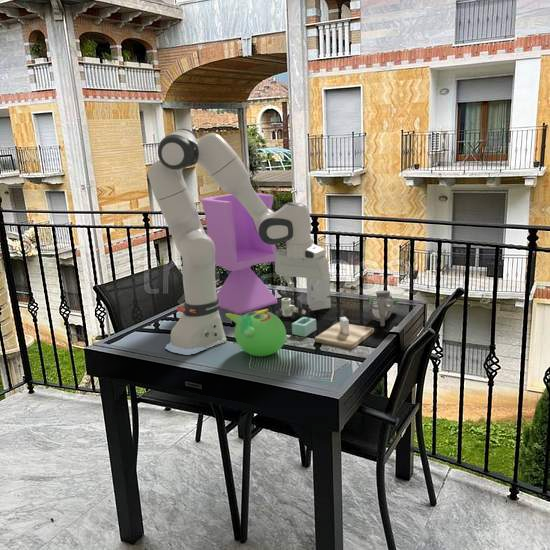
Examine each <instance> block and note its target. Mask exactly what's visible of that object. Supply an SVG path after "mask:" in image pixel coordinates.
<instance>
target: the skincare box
mask: <svg viewBox="0 0 550 550" xmlns="http://www.w3.org/2000/svg"><path fill="white" fill-rule="evenodd" d="M305 279H306V301H307V304H308V305H309V307H308V308H309V309H311V311H318V310H319V311H320V310H324V309H330V308H331V307H332V306H331V304H332V302H331V273H330V271H329V275H328V277H327V278H325V279H323V280H320V281H319V283H318V285H317V290H316V291H311V286H312V285H313V284H314V282H313V279H311V278H305Z"/></svg>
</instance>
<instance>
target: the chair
mask: <svg viewBox="0 0 550 550" xmlns="http://www.w3.org/2000/svg"><path fill="white" fill-rule="evenodd" d="M256 193H257V195H258V196H259V197H260V199H261V200H262V201H263V203H264V204H265V205H266V206H267V207H268V208H269V209H271V210H272V209H273V208H272V207H273V202H274V197H275V196H274V194H270V193H269V194H266V193H258V192H256ZM200 201H201V204H202V208H203V211H204V215H205V216H204V217H205V220H206V223H205V224H206V234H207V235H208V236H209V237H210V238H211V239H212V241H213V242H214V245H215V266H218V267H220V268H222V269H224V270H226V271H229V272H230V273H229V274H228V276H227V277H226V279H225V280H224V282H223V284H222V286H221V287H220V289H219V290H218V292H217V298H218V300H219V309H222V310H225V311H227V312H228V313H231V314H235V315H240V316H242V315H243V314H244V315H245V314H247V313H250V312H253V311H258V310H262V309H264V308H266V307H270V306H273V305H276V304H278V299H277V298H276V297H275V295H274V294H273V293H272V292H271V290H270V289H269V288H268V287H267V286H266V284H264V282H263V281H262V280H261V279H260V278H259V277H258V275H257V273H255V272H254V270H252V268H251V267H252V266H256V265H259V264H266V263H273V262H275V259H276V258H275V252H276V250H278V249H277V246H276V245H277V244H274V245H270V244H267V243H265V242H263V241H262V240H261V238H260V237H259V235H258V234H257V232H256V230H255V227H254V222H253V219H252V217H251V215H250V214H249V213H248V212H247V210H246V209H245V208H244V206H243V205H242V204H241V202H240V201H239V200H238V199H237V198H236V197H234V196H233V195H231V194H229V193H227V194H223V195H222V194H221V195H216V196H210V197H204V198H203V197H202V198H201V200H200Z"/></svg>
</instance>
